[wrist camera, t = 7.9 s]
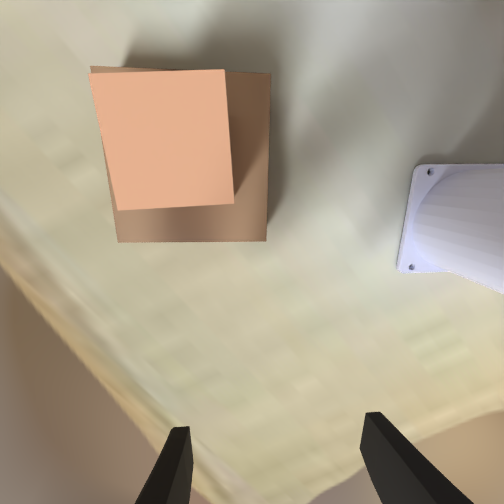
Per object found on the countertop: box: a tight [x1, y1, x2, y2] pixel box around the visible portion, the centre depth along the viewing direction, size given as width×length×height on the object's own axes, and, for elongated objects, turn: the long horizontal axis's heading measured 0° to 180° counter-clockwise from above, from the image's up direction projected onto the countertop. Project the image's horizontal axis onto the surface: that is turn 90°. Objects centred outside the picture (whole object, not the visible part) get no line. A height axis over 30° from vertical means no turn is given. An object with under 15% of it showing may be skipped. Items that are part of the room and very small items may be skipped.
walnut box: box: [90, 66, 271, 243], centre depth 15 cm, size 9×9×3 cm
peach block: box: [88, 69, 235, 211], centre depth 11 cm, size 4×4×5 cm
